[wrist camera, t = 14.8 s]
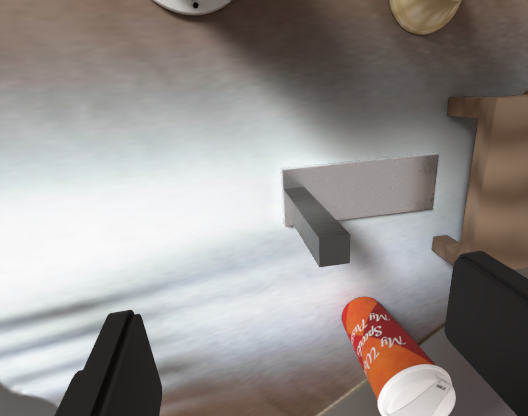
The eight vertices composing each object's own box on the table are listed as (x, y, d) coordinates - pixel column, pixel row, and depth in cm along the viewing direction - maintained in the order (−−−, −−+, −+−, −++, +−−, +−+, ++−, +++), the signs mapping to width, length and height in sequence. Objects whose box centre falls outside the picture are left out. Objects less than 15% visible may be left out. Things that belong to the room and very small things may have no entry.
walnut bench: (449, 97, 38) (497, 98, 32) (540, 90, 40) (604, 89, 33) (431, 249, 45) (468, 276, 38) (510, 239, 46) (559, 262, 40)
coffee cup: (357, 280, 45) (421, 364, 31) (399, 304, 47) (476, 392, 33) (321, 325, 47) (367, 423, 33) (363, 346, 49) (423, 446, 35)
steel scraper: (280, 168, 38) (318, 210, 24) (432, 152, 40) (550, 183, 26) (283, 222, 41) (319, 291, 27) (426, 205, 43) (531, 260, 29)
